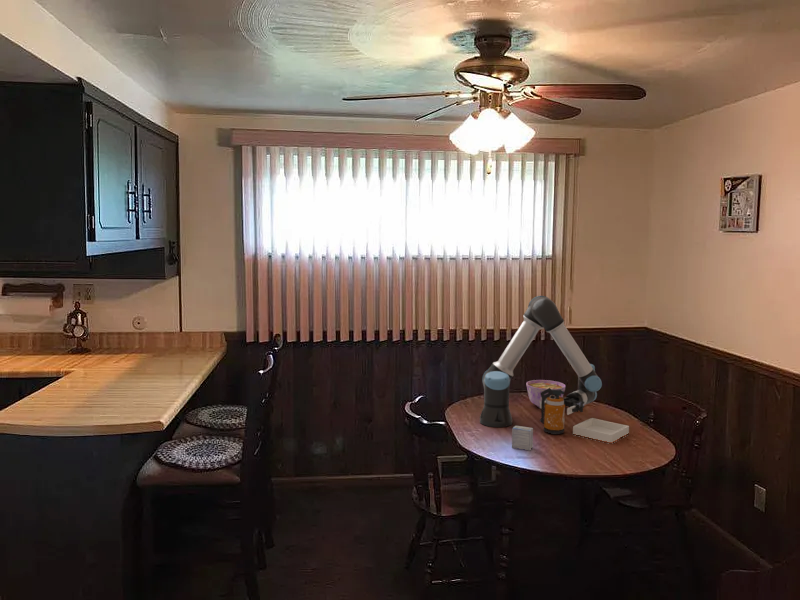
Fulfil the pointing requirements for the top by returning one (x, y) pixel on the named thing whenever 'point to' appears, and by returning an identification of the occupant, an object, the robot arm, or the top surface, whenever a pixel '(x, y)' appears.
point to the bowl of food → (542, 389)
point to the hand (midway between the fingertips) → (553, 408)
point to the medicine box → (522, 437)
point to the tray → (600, 429)
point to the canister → (553, 411)
